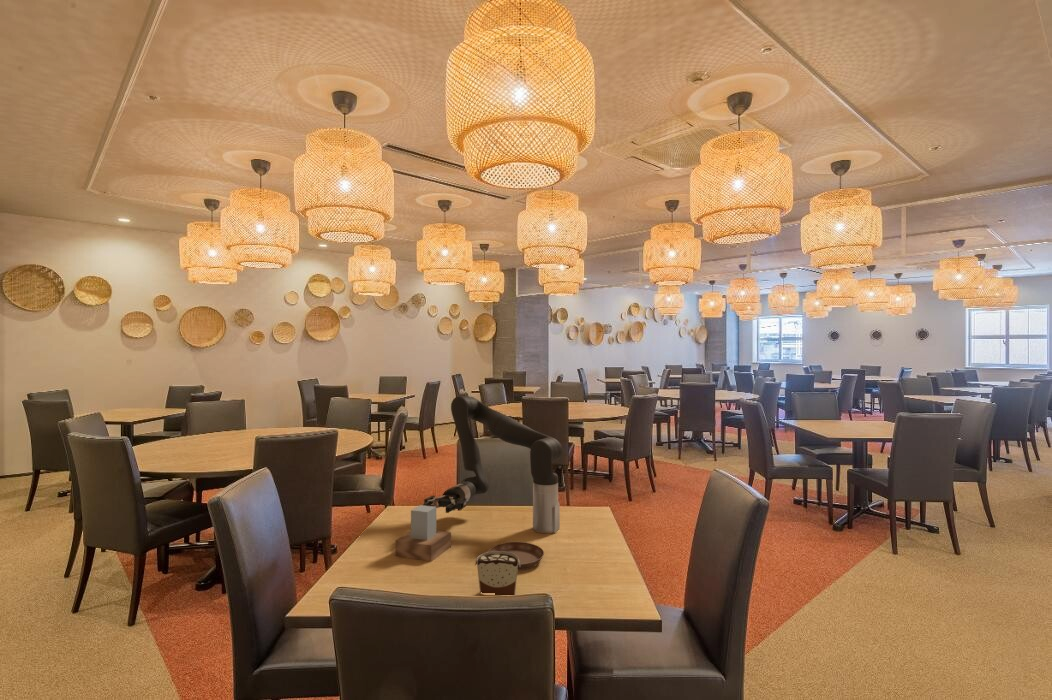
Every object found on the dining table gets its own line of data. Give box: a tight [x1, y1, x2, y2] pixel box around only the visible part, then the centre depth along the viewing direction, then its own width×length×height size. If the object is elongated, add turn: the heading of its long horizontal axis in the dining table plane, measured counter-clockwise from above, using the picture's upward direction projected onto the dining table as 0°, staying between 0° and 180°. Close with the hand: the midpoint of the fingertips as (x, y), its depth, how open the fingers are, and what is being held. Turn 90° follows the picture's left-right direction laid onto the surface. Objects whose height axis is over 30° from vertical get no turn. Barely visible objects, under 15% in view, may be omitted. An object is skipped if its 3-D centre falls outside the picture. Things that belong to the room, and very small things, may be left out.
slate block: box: [410, 504, 437, 540], centre depth 175 cm, size 6×6×9 cm
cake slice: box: [474, 551, 520, 596], centre depth 147 cm, size 12×6×10 cm, turn 84°
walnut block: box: [394, 529, 452, 562], centre depth 175 cm, size 13×13×5 cm
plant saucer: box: [487, 541, 545, 571], centre depth 168 cm, size 18×18×3 cm
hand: (435, 508), depth 182 cm, fingers open, 8 cm apart
